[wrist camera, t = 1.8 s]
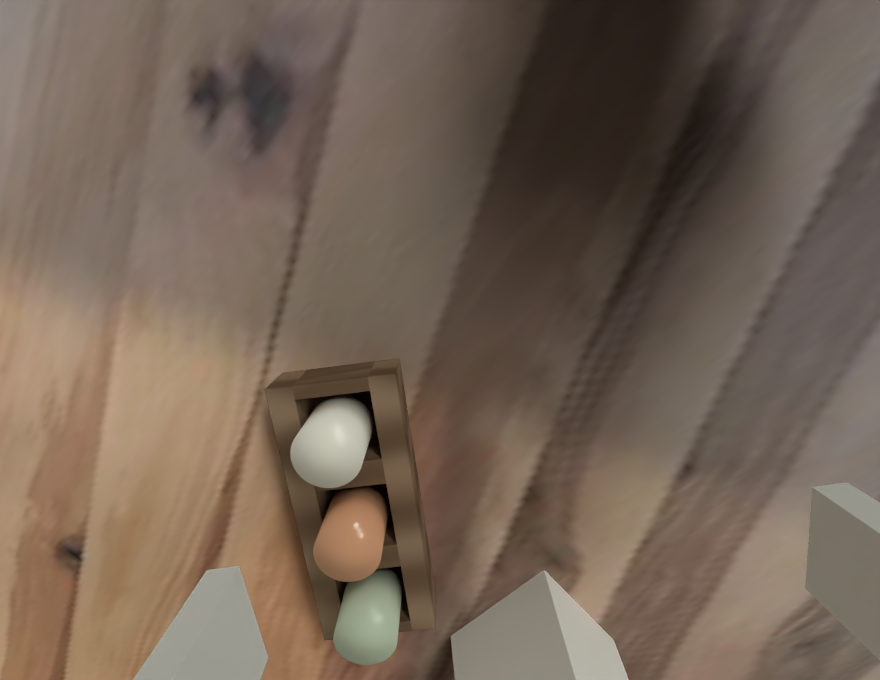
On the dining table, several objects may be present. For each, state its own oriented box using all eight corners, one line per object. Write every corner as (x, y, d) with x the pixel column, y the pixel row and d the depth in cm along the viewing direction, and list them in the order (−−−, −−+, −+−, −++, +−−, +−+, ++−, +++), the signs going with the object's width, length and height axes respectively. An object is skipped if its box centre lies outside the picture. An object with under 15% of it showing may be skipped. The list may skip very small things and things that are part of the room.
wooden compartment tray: (282, 372, 37) (264, 389, 33) (399, 358, 37) (395, 373, 33) (334, 603, 43) (324, 640, 39) (435, 591, 42) (435, 628, 39)
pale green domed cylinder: (341, 568, 38) (327, 617, 33) (397, 561, 38) (392, 610, 33) (351, 614, 39) (339, 668, 35) (406, 608, 39) (401, 661, 34)
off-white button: (304, 399, 34) (283, 427, 29) (367, 391, 34) (356, 418, 29) (317, 456, 35) (298, 492, 31) (377, 448, 35) (368, 483, 30)
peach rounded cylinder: (324, 488, 36) (306, 528, 31) (383, 481, 36) (375, 520, 31) (335, 539, 37) (320, 585, 33) (392, 532, 37) (386, 578, 32)
